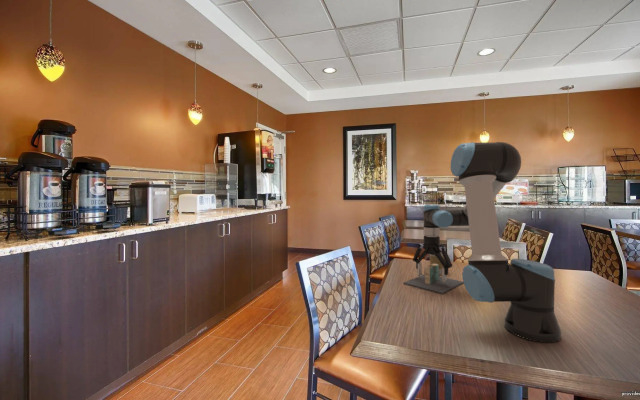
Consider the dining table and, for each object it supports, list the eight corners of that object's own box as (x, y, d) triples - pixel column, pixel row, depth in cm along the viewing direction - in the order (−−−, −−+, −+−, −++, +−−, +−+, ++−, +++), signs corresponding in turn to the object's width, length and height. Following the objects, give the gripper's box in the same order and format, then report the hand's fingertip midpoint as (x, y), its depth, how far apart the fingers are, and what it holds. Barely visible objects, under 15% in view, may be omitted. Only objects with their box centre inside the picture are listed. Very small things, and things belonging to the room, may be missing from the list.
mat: (442, 294, 133) (442, 292, 133) (403, 284, 148) (403, 282, 148) (463, 283, 148) (463, 281, 148) (426, 275, 162) (426, 273, 162)
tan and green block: (430, 284, 145) (430, 267, 145) (424, 282, 147) (424, 266, 147) (438, 280, 151) (438, 264, 150) (433, 279, 153) (433, 263, 153)
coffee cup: (448, 272, 166) (448, 246, 166) (445, 277, 158) (445, 249, 158) (430, 270, 172) (430, 244, 171) (426, 274, 163) (426, 247, 163)
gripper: (459, 237, 141) (459, 282, 142) (413, 232, 159) (413, 271, 160) (452, 239, 136) (452, 285, 137) (405, 234, 154) (405, 274, 155)
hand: (431, 278), depth 148 cm, fingers open, 12 cm apart
